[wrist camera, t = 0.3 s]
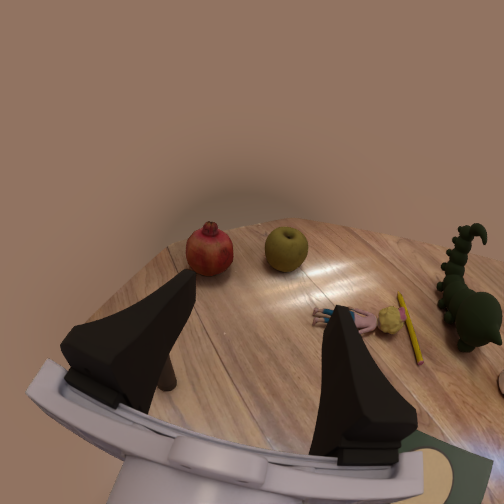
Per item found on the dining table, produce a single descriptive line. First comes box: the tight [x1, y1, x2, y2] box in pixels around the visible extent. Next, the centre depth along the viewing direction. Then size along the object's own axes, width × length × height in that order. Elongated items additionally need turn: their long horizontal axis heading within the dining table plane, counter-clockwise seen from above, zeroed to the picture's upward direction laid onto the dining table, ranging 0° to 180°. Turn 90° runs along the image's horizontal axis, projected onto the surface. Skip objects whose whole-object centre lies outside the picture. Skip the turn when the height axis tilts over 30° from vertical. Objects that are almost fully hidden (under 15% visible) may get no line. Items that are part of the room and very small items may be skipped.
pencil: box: [397, 291, 424, 365], centre depth 41 cm, size 16×1×1 cm, turn 174°
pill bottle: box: [157, 355, 177, 391], centre depth 28 cm, size 3×3×10 cm
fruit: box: [186, 221, 233, 276], centre depth 46 cm, size 8×8×10 cm
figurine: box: [313, 306, 407, 335], centre depth 40 cm, size 6×4×15 cm
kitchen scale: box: [388, 430, 493, 504], centre depth 18 cm, size 20×14×1 cm
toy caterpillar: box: [437, 223, 502, 352], centre depth 37 cm, size 9×19×25 cm
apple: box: [265, 227, 308, 272], centre depth 50 cm, size 8×8×7 cm
